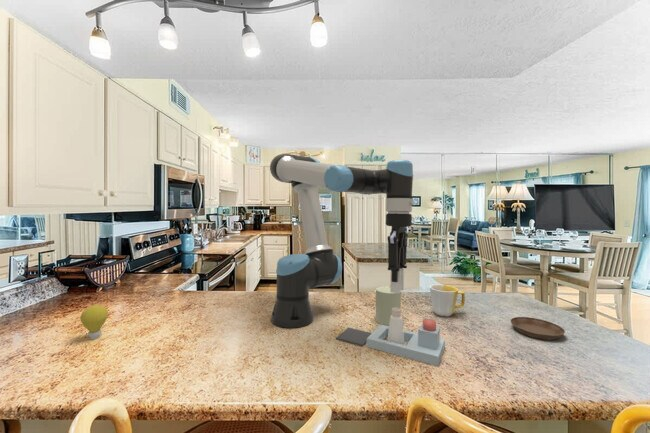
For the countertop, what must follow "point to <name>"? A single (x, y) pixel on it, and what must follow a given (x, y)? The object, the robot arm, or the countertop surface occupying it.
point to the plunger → (429, 325)
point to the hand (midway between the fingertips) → (396, 290)
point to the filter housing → (411, 344)
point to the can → (386, 304)
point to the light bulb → (94, 320)
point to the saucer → (537, 328)
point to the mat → (354, 336)
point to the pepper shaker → (396, 327)
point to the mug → (445, 299)
